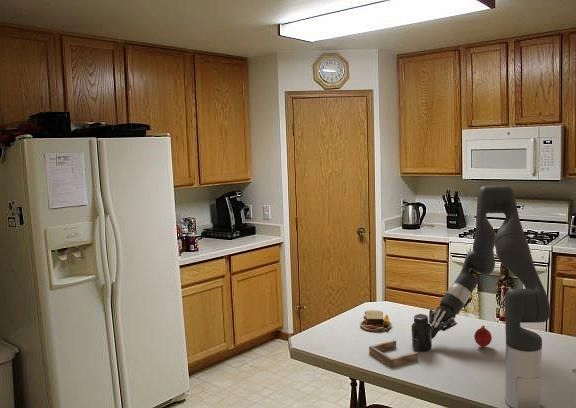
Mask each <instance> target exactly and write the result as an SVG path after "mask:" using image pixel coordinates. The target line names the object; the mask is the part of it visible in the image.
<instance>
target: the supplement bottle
mask: <svg viewBox="0 0 576 408" xmlns="http://www.w3.org/2000/svg"><path fill="white" fill-rule="evenodd" d="M432 341H433V340H432V335H431V324H430V323H429V315H427V314H423V313H419V314H415V315H414V316H413V322H412V323H411V344H412V345H411V346H412V347H411V348H412V349H413V350H414V351H415V352H420V353H425V352H426V353H427V352H429V351H431V349H432V347H433V342H432Z"/></svg>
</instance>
